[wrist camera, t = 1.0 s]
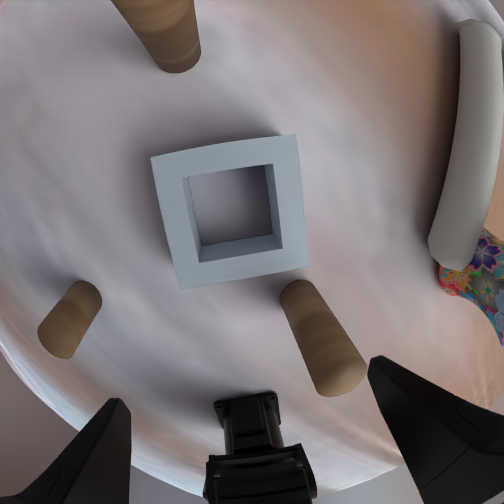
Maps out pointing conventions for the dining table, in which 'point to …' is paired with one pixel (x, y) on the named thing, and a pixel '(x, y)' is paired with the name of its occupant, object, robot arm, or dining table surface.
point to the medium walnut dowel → (322, 340)
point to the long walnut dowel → (165, 30)
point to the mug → (481, 280)
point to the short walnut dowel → (70, 320)
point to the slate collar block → (243, 250)
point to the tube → (471, 148)
